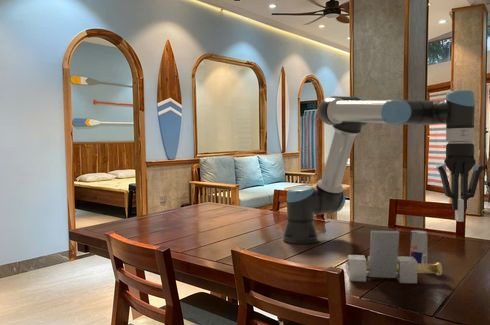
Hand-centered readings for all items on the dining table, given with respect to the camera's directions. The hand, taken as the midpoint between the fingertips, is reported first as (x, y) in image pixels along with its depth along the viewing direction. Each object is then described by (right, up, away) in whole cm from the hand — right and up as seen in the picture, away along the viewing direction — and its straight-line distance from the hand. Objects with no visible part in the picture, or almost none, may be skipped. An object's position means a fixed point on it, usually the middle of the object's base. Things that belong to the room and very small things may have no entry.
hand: (459, 220), depth 122 cm
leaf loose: (-23, -11, +1) cm, 25 cm away
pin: (-16, -17, +4) cm, 24 cm away
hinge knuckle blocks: (-21, -19, +8) cm, 30 cm away
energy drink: (-5, -18, +18) cm, 26 cm away
